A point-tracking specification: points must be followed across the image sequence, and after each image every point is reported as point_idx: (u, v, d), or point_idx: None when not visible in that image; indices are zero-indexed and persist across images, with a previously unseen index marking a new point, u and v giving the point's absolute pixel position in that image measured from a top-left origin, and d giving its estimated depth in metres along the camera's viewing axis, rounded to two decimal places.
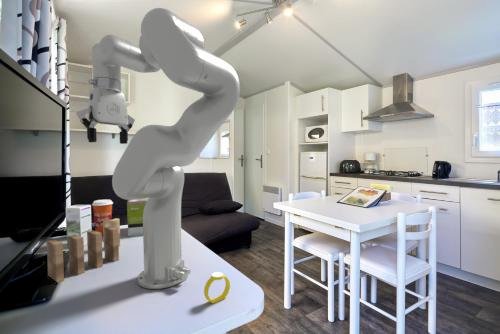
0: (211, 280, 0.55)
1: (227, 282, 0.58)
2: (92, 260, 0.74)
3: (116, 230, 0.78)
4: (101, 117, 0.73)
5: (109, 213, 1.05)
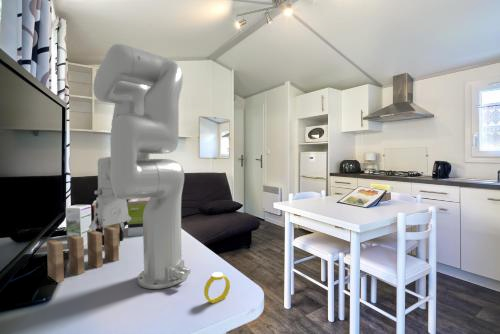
0: (211, 280, 0.55)
1: (227, 282, 0.58)
2: (92, 260, 0.74)
3: (116, 230, 0.78)
4: (105, 223, 0.85)
5: None
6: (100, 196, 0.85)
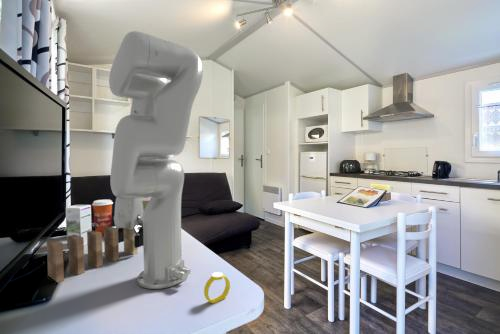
0: (211, 280, 0.55)
1: (227, 282, 0.58)
2: (92, 260, 0.74)
3: (116, 230, 0.78)
4: (115, 223, 0.84)
5: (109, 213, 1.05)
6: None
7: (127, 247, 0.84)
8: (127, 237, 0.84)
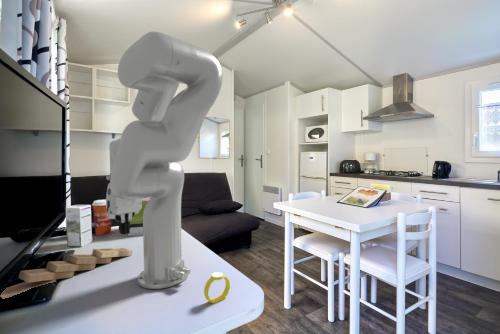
0: (211, 280, 0.55)
1: (227, 282, 0.58)
2: None
3: (79, 260, 0.69)
4: (118, 211, 0.78)
5: None
6: None
7: None
8: None
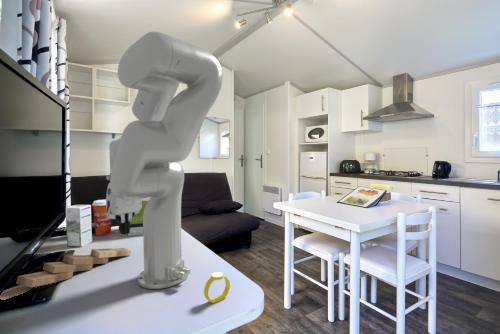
0: (211, 280, 0.55)
1: (227, 282, 0.58)
2: None
3: (75, 260, 0.68)
4: (118, 211, 0.78)
5: None
6: None
7: None
8: None
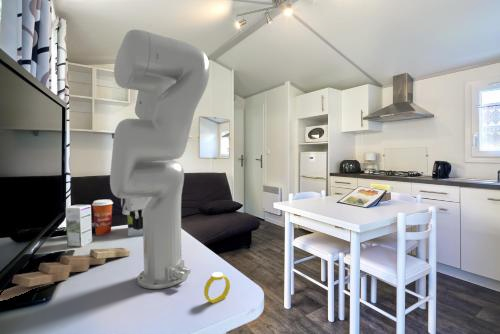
0: (211, 280, 0.55)
1: (227, 282, 0.58)
2: None
3: (71, 261, 0.68)
4: (133, 207, 0.83)
5: (109, 213, 1.05)
6: None
7: None
8: None
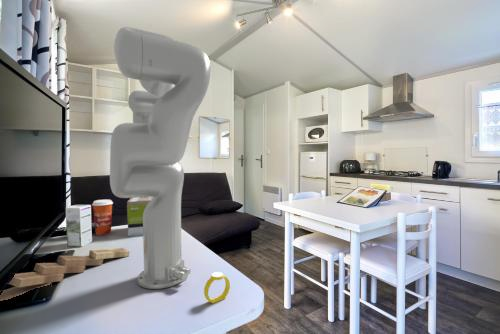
0: (211, 280, 0.55)
1: (227, 282, 0.58)
2: None
3: (67, 261, 0.68)
4: None
5: (109, 213, 1.05)
6: None
7: None
8: None
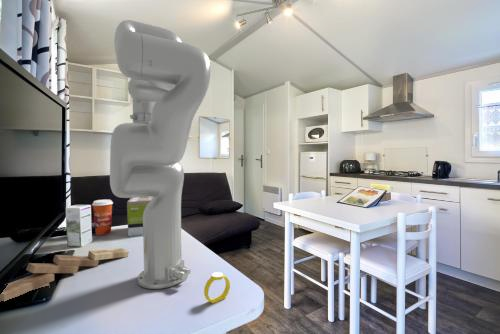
0: (211, 280, 0.55)
1: (227, 282, 0.58)
2: None
3: (61, 261, 0.67)
4: None
5: (109, 213, 1.05)
6: (135, 121, 0.85)
7: None
8: None
